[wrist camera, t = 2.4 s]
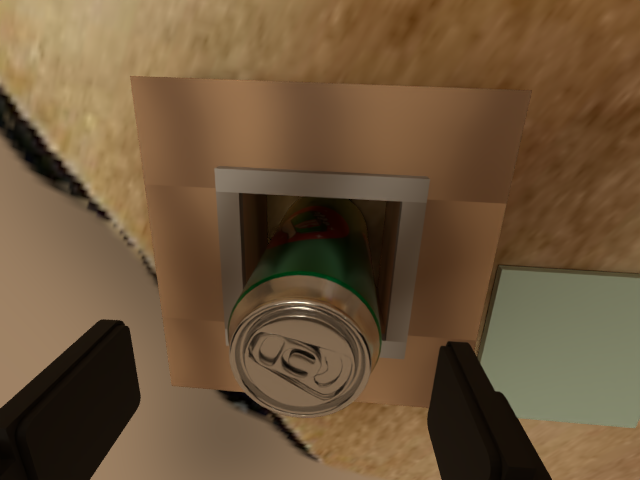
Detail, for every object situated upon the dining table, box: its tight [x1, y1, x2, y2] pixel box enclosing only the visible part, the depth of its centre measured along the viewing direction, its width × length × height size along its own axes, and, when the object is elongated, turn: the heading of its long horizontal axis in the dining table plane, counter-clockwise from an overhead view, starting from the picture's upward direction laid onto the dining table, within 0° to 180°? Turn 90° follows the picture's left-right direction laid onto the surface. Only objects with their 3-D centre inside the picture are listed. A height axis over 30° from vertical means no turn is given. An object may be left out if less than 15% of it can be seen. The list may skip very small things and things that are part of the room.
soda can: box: [227, 196, 382, 418], centre depth 17 cm, size 5×5×12 cm
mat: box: [477, 265, 640, 428], centre depth 23 cm, size 11×11×1 cm
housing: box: [130, 76, 532, 408], centre depth 20 cm, size 16×16×6 cm
